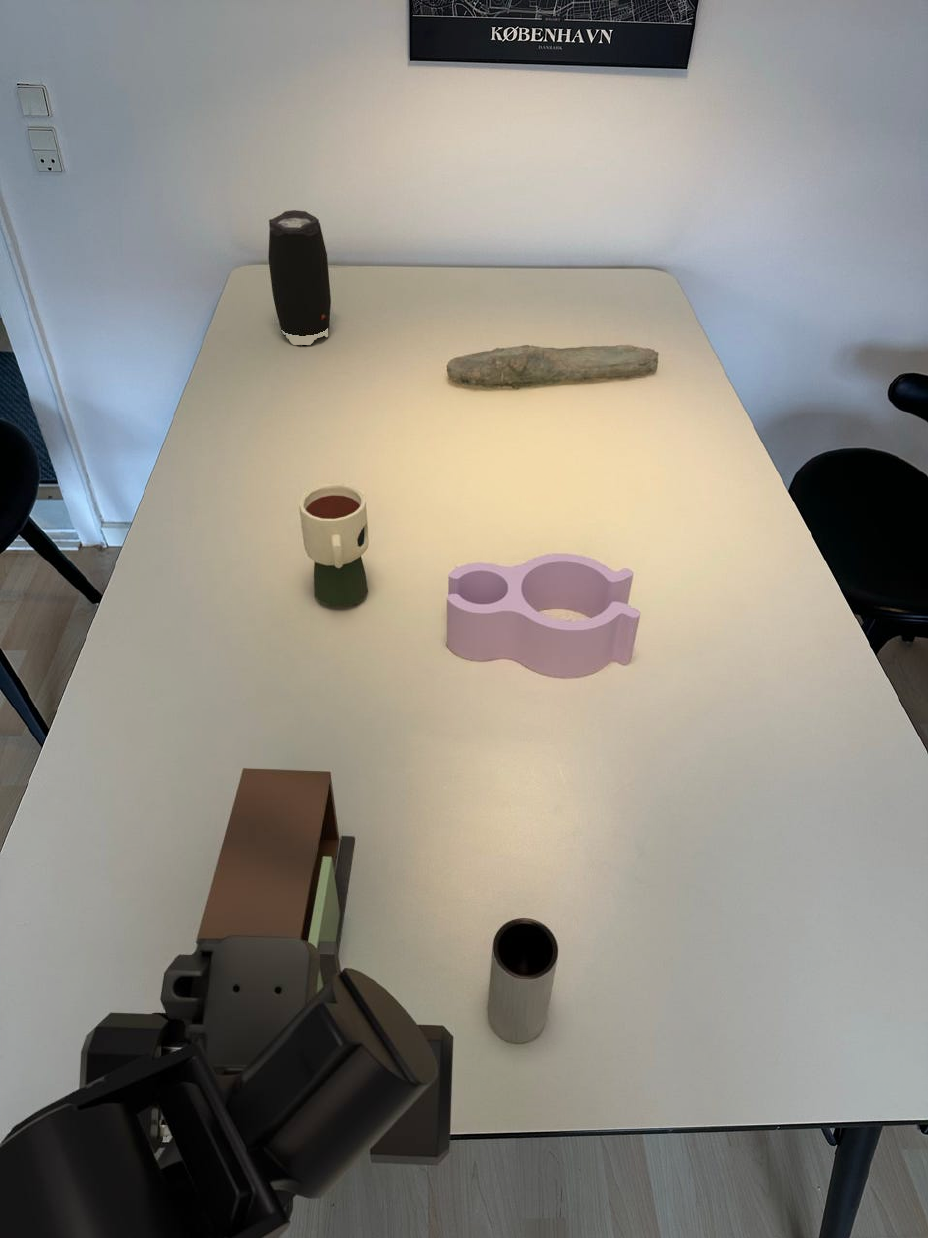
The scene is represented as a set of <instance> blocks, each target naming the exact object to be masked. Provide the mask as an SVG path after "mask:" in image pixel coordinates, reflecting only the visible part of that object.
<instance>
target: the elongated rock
mask: <svg viewBox="0 0 928 1238" xmlns="http://www.w3.org/2000/svg"><path fill="white" fill-rule="evenodd" d="M659 355H660V354H659V352H658V351H655V349H651V348H646V347H641V346H634V345H630V344H619V345H617V344H616V345H609V346H608V345H607V346H606V345H601V346H598V345H596V346H594V345H593V346H591V345H590V346H578V347H564V348H558V347H557V348H556V347H544V346H543V347H542V346H539V345H537V346H536V345H529V344H525V345H519V346H510V347H501V348H499V347H496V348H494V349H492V350H487V351H486V350H485V351H479V352H475V353H470V354H465V355H462V356H457V357H454V358H452V359H450V360H449V361H448V362H447V364H446V373H447V377H448V378H449V379H450V380H451V381H453V382H455V383H458V385H460V386H464V385H465V386H472V387H473V386H476V387H482V388H490V389H492V388H493V389H494V388H504V387H510V388H512V389H514V390H519V389H520V388H524V387H525V388H528V387H529V388H530V386H533V385H547V384H556V383H560V382H562V381H564V380H570V381H577V380H579V381H580V382H585V381H587V380H593V379H621V378H622V379H629V378H632V377H635V376H644V375H648V374H651V373H654V372H655V371H657V368H658V364H659Z"/></svg>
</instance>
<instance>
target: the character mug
mask: <svg viewBox="0 0 928 1238" xmlns="http://www.w3.org/2000/svg"><path fill="white" fill-rule="evenodd" d="M298 509H299V516H300V525H301V531H302V532H301V533H302V539H303V547H304V550H305V552H306V555H307V557H308V558H309V559H310V560H312V561H313V562H314V566H313V593H314V597H315V598H316V600H318V602H320V603H322V604H325V605H328V606H333V607H348V606H355V605H357V604H359V603H360V602H362V601H363V600H365V598H366V597H367V595H368V593H369V588H368V580H367V575H366V570H365V566H364V561H363V558H362V556H363V555H364V554H365V553H366V552H367V550H368V548H369V542H370V541H369V540H370V539H369V525H368V524H369V522H368V512H367V511H368V510H367V499H366V497H365V495H364V494H363V492H362V491H361V490H360V489H358V488H356V487H355V486H351V485H348V484H344V483H326V484H322V485H321V484H320V485H316V486H315V487H313V488H311V489H309V490H307V491H306V492H305V493H304V494H302V495H301V497H300V501H299V503H298Z"/></svg>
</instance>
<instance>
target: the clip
mask: <svg viewBox="0 0 928 1238" xmlns="http://www.w3.org/2000/svg"><path fill="white" fill-rule="evenodd" d="M634 573H635V572H634V571H633V570H632V569H630V568H628V567H624V568H621V569H619V570H613V569H611V567H609V566H607V565H606V564H604V563H602V562H601V561H598V560H596V559H594V558H591V557H587V556H584V555H579V554H574V553H563V552H562V553H561V552H560V553H549V554H543V555H539V556H536V557H533V558H531V559H528V560H527V561H525V562H523V563H520V564H517V565H510V566H509V565H508V566H507V565H499V564H496V563H491V562H470V563H466V564H461V565H460V566H458V567H455V568H454V569H452V570H451V571H450V572H449V573H448V581H447V583H448V587H447V590H448V591H447V593H448V594H447V596H446V647H447V649H448V650H449V651H450V652H451V653H452V654H454V655H455V656H457V657H460V658H462V659H464V660H468V661H472V662H473V661H474V662H489V661H494V660H499V659H501V660H502V659H505V660H512V661H515V662H517V663H519V664H521V665H522V666H524V667H525V668H527V669H528V670H531V671H532V672H534V673H537V674H540V675H543V676H547V677H551V678H558V679H576V678H582V677H587V676H590V675H592V674H595V673H597V672H599V671H601V670H602V669H604V668H606V667H607V666H608V665H609V664H610V663H611V662H615V663H618V664H620V665H622V666H629V664H630V663H632V656H633V652H634V647H635V643H636V637H637V632H638V628H639V622H640V619H641V611H640V610H639V609H637V608H635V607H633V606H631V605H629V600H630V595H631V594H630V593H631V590H632V584H633V578H634ZM553 609H561V610H568V611H569V610H570V611H574V612H577V613H580V614H582V615H584V616H586V617H588V618H586V619H581V620H563V619H557V618H554V617H550V616H547V615H545V614H543V613H540V611H544V610H553Z"/></svg>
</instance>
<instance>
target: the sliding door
mask: <svg viewBox="0 0 928 1238" xmlns="http://www.w3.org/2000/svg"><path fill="white" fill-rule="evenodd" d="M339 917H340V910H339V903H338V896H337V889H336V882H335V869H334V868H333V862H332V857H325V856H323V858H322V864H321V870H320V876H319V881H318V887H317V893H316V899H315V904H314V910H313V916H312V922H311V927H310V933H309V939H308V942H310V943H312V944H313V945H314V946H315V947H316V948H317V950H318V952H319V955H320V969H319V974H318V984H317V993H318V992H319V991H320V989H321V988H322V987H323V986H324V985H325V984H326V983H327V982H328V981H329V980H330V979H331V978H332V977H333V976H334V975H335V974H336V973H339V972H341V971H342V970H341V964H340V958H339V954H338V950H337V944H336V937H337V931H338V924H339Z"/></svg>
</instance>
